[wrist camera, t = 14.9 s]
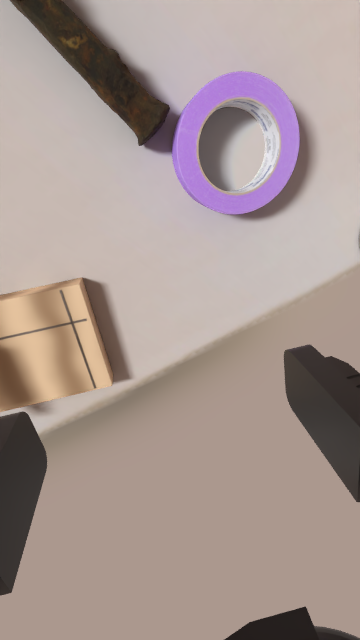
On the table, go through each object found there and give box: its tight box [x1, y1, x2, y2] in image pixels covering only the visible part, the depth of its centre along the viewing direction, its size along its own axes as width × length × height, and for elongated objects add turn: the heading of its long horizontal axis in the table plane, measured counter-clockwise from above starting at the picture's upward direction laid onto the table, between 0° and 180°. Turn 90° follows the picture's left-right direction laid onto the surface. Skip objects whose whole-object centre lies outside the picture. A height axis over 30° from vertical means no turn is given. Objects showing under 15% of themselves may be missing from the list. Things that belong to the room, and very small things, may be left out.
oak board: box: [0, 278, 113, 412], centre depth 37 cm, size 20×13×3 cm, turn 100°
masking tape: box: [172, 71, 300, 214], centre depth 32 cm, size 12×12×4 cm
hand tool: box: [10, 0, 170, 146], centre depth 27 cm, size 19×4×5 cm, turn 44°
